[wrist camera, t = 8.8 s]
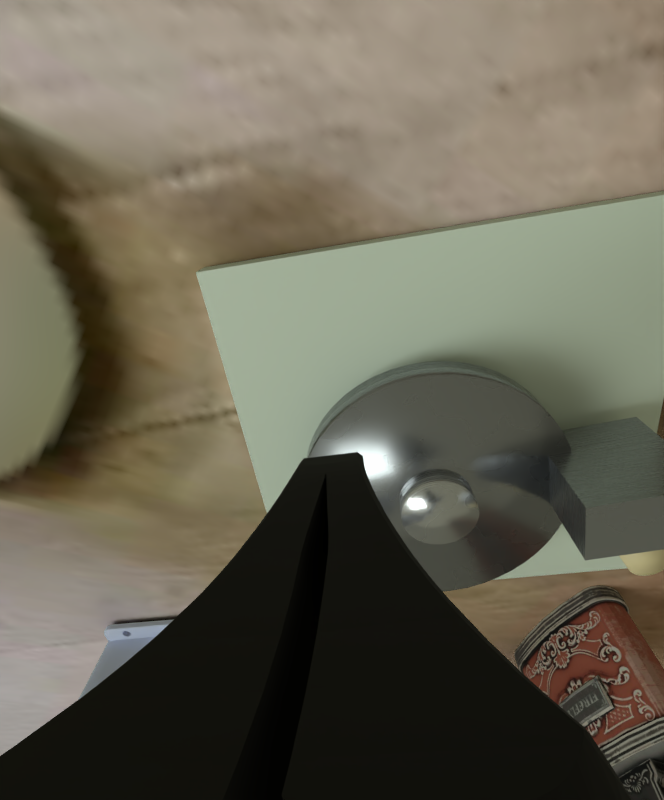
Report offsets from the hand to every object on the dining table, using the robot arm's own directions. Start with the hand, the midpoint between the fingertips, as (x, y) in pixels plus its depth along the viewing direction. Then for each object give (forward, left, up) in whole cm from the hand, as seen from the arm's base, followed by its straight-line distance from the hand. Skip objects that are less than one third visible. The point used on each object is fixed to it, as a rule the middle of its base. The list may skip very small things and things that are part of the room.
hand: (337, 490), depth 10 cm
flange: (+4, -6, -8) cm, 11 cm away
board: (+4, -5, -10) cm, 12 cm away
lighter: (+11, -20, -10) cm, 25 cm away
